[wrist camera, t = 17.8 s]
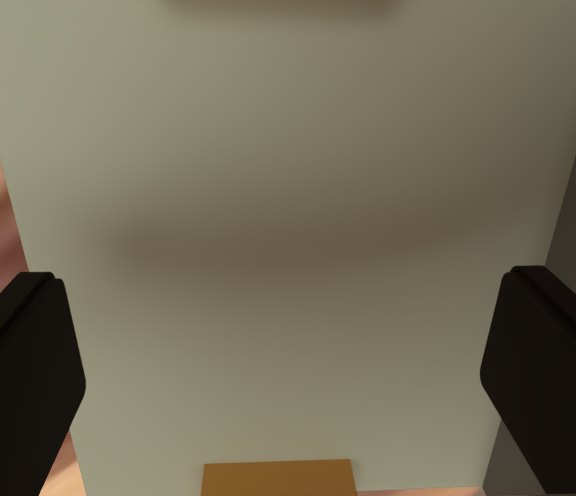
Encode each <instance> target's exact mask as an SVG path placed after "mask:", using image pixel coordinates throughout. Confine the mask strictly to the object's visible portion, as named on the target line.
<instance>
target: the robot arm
mask: <svg viewBox="0 0 576 496" xmlns="http://www.w3.org/2000/svg"><path fill="white" fill-rule="evenodd" d="M480 381H481V384H482V386H483V388H484V390H485V392H486V393H487V395H488V397H489V398H490V400H491V402H492V404H493V405H494V407H495V409H496V410H497V412H498V414H499V415H500V417H501V419H502V420H503V422H504V424H505V426H506V427H507V429H508V431H509V432H510V434H511V436H512V437H513V439H514V441H515V442H516V444H517V446H518V448H519V449H520V451H521V453H522V454H523V456H524V458H525V459H526V461H527V463H528V464H529V466H530V468H531V470H532V471H533V473H534V475H535V476H536V478H537V480H538V481H539V483H540V485H541V486H542V488H543V490H544V492H545V493H546V494H542V495H511V496H576V294H575V293H574V292H573V291H572V290H571V289H570V288H569V287H567V286H566V285H565V284H564V283H563V282H562V281H561V280H560V279H559V278H557V277H556V276H555V275H554V274H553V273H552V272H551V271H550V270H549V269H547V268H546V267H545V266H543V265H526V266H514V267H512V269H511V270H510V272H506V273H505V274H504V275H503V277H502V280H501V284H500V288H499V292H498V296H497V301H496V305H495V309H494V313H493V317H492V321H491V325H490V330H489V334H488V338H487V342H486V346H485V350H484V354H483V359H482V363H481V367H480ZM85 390H86V378H85V373H84V369H83V364H82V360H81V355H80V351H79V347H78V342H77V338H76V333H75V329H74V324H73V320H72V315H71V311H70V306H69V302H68V297H67V293H66V288H65V284H64V282H63V280H62V279H60V278H55V276H54V274H53V273H52V272H20V273H19V274H17V276H16V277H15V278H14V279H13V280H12V281H11V282H10V283H9V284H8V285H7V286H6V287H5V289H4V290H3V291H2V292H1V293H0V496H39V494H40V491H41V489H42V487H43V485H44V483H45V480H46V478H47V476H48V474H49V472H50V470H51V467H52V465H53V463H54V461H55V459H56V456H57V454H58V452H59V450H60V448H61V446H62V443H63V441H64V439H65V437H66V435H67V433H68V430H69V428H70V426H71V424H72V422H73V419H74V417H75V415H76V413H77V411H78V409H79V406H80V404H81V402H82V400H83V398H84V395H85Z"/></svg>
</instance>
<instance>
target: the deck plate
mask: <svg viewBox="0 0 576 496" xmlns="http://www.w3.org/2000/svg"><path fill="white" fill-rule="evenodd" d="M0 160H1V164H2V168H3V172H4V176H5V180H6V184H7V188H8V192H9V195H10V199H11V203H12V207H13V211H14V215H15V219H16V223H17V227H18V230H19V234H20V238H21V242H22V246H23V250H24V254H25V258H26V262H27V265H28V269H29V272H52V273H53V274H54V276H55V278H60V279H62V280H63V282H64V284H65V288H66V293H67V297H68V302H69V306H70V311H71V315H72V320H73V324H74V329H75V333H76V338H77V342H78V347H79V351H80V355H81V360H82V364H83V369H84V373H85V378H86V390H85V395H84V398H83V400H82V402H81V404H80V406H79V409H78V411H77V413H76V415H75V417H74V419H73V422H72V424H71V426H70V428H69V429H70V433H71V437H72V440H73V444H74V448H75V452H76V456H77V460H78V464H79V468H80V472H81V475H82V479H83V483H84V487H85V491H86V495H87V496H357V491H371V490H398V489H425V488H452V487H479V486H482V487H483V489H484V491H485V493H486V496H511V495H542V494H546V493H545V492H544V490H543V488H542V486H541V485H540V483H539V481H538V480H537V478H536V476H535V475H534V473H533V471H532V470H531V468H530V466H529V464H528V463H527V461H526V459H525V458H524V456H523V454H522V453H521V451H520V449H519V448H518V446H517V444H516V442H515V441H514V439H513V437H512V436H511V434H510V432H509V431H508V429H507V427H506V426H505V424H504V422H503V420H502V419H501V417H500V415H499V414H498V412H497V410H496V409H495V407H494V405H493V404H492V402H491V400H490V398H489V397H488V395H487V393H486V392H485V390H484V388H483V386H482V384H481V381H480V367H481V363H482V359H483V354H484V350H485V346H486V342H487V338H488V334H489V330H490V325H491V321H492V317H493V313H494V309H495V305H496V301H497V296H498V292H499V288H500V284H501V280H502V277H503V275H504V274H505V273H506V272H510V270H511V269H512V267H514V266H526V265H543V266H545V267H546V268H547V269H549V270H550V271H551V272H552V273H553V274H554V275H555V276H556V277H557V278H559V279H560V280H561V281H562V282H563V283H564V284H565V285H566V286H567V287H569V288H570V289H571V290H572V291H573V292H574V293H575V294H576V0H0Z"/></svg>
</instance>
